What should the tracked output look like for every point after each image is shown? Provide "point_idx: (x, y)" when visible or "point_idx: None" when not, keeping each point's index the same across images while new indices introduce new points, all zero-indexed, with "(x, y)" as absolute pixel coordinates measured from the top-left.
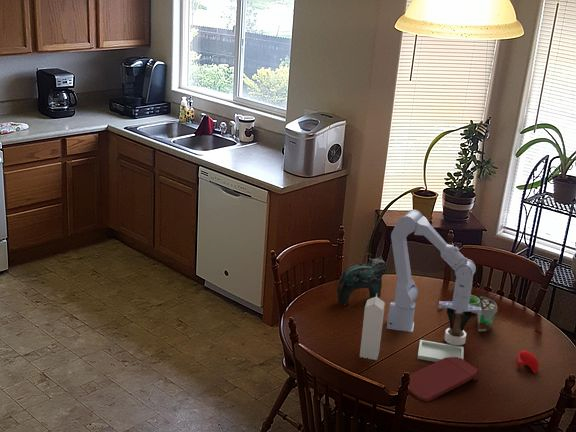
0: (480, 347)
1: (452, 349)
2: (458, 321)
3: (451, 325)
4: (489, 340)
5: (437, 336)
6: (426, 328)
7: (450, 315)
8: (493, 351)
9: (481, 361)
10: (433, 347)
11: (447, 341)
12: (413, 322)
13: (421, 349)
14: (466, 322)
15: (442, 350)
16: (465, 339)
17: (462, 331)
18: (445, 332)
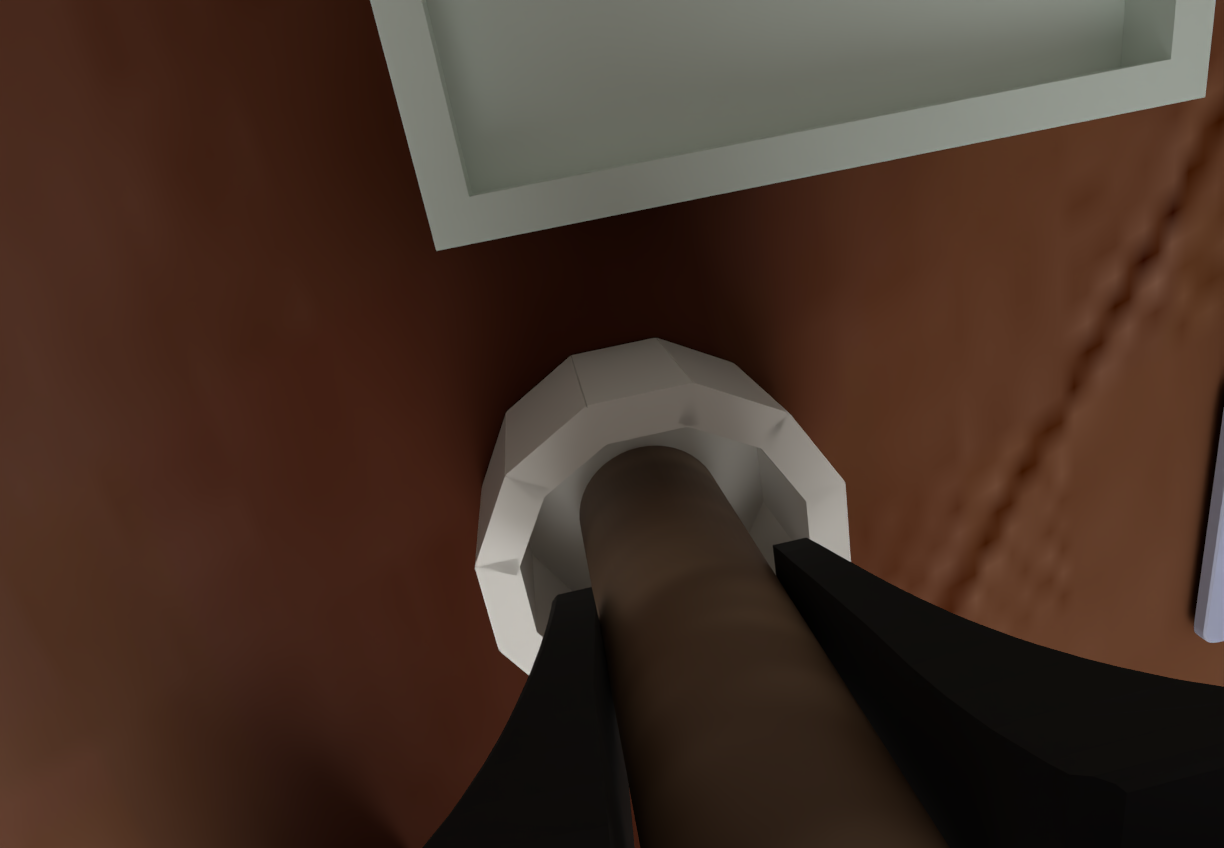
0: (241, 527)
1: (614, 162)
2: (728, 693)
3: (831, 570)
4: (204, 771)
5: (884, 488)
6: (1036, 605)
7: (1128, 710)
8: (12, 520)
9: (28, 54)
10: (929, 54)
11: (740, 371)
12: (1213, 630)
13: None
14: (495, 751)
15: (770, 24)
16: (479, 524)
17: None
18: (838, 495)
